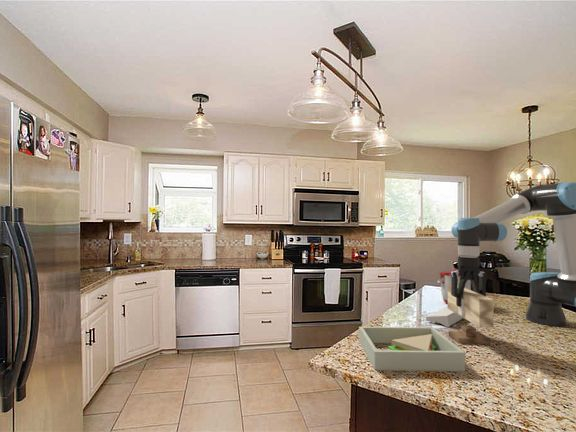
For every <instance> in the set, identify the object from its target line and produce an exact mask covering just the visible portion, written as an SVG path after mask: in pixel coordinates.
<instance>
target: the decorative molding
mask: <svg viewBox="0 0 576 432" xmlns="http://www.w3.org/2000/svg"><path fill="white" fill-rule="evenodd" d="M425 318H426V321H427V322H431V324H433V325H434V324H441V325H443V326H445V327H447V328H449V327H450V326H453V325H455V324H456V323H458V322H459V321H461V320H463V319H464V318H463V317H461V316H460V315H458V314H456V313H455V312H453V311H451V310H449V309H448V305H447V306H445V307H444V308H441V309H439V310H436V311H435V312H433V313H431V314H429V315H426V316H425Z"/></svg>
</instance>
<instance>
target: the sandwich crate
mask: <svg viewBox="0 0 576 432" xmlns="http://www.w3.org/2000/svg"><path fill="white" fill-rule="evenodd" d="M428 334H432V341H433V342H432V343H433V344H434V345H435V346H436V347H435V349H436V350H433V351H404V350H392V349H391V350H386V349H385V350H382V349H379V350H378V349H377V347H376V346H375V344H391V340H395V339H402V338H408V337H415V336H422V335H428ZM358 342H359V344H360V347H361V348H362V350H363V352H364V353H365V356H366V357H367V359H368V360H369V361H368V362H370V364H371V366H372V368H373V370H374V371H410V372H411V371H413V372H414V371H416V372H417V371H419V372H423V371H424V372H426V371H429V372H466V351H465V350H463V349H462V348H460V347H459V346H457V345H456V344H455V343H453V342H452V341H451V340H450V339H448V338H447V337H446V336H444V335H443V334H442V333H440V332H439V331H438V330H437V329H436V328H434V327H433V326H431V327H429V326H423V327H422V326H358Z"/></svg>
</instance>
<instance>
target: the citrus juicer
mask: <svg viewBox="0 0 576 432" xmlns="http://www.w3.org/2000/svg"><path fill="white" fill-rule="evenodd" d="M457 269H458V268H453V269H452V270H451V271H453V272H454V271H457ZM451 271H441V272H440V273H439V275H440V276H439V277H440V278H439V279H437V283H438V284H439V283H440V291H441V295H442V296H441V297H442V300H443V302H444V303H445V304H447V305H448V285H451V283H452V277H451V274H450V272H451ZM457 278H458V285H459V282H460V280H459V279H460V275H459V274H458V276H457ZM465 288H466V289H469V290H471V291H472V284H471V281H470V280H467V282H466V284H465Z"/></svg>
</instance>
